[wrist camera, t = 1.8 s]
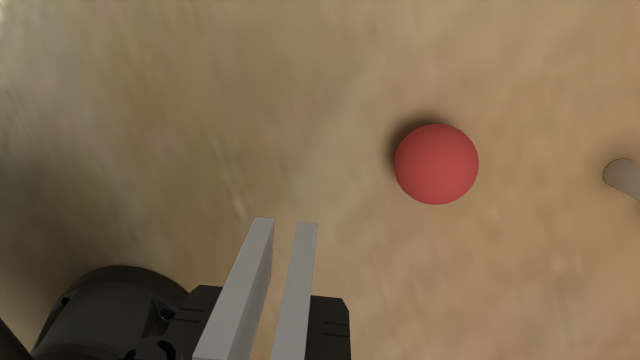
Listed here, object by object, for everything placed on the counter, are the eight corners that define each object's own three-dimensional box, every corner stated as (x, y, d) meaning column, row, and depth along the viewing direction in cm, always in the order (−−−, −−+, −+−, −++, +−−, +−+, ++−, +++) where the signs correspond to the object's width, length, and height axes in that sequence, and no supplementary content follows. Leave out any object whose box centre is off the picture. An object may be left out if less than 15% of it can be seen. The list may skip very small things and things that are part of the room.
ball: (383, 182, 31) (393, 214, 25) (395, 112, 28) (410, 130, 23) (453, 189, 31) (479, 223, 25) (470, 120, 28) (503, 140, 23)
